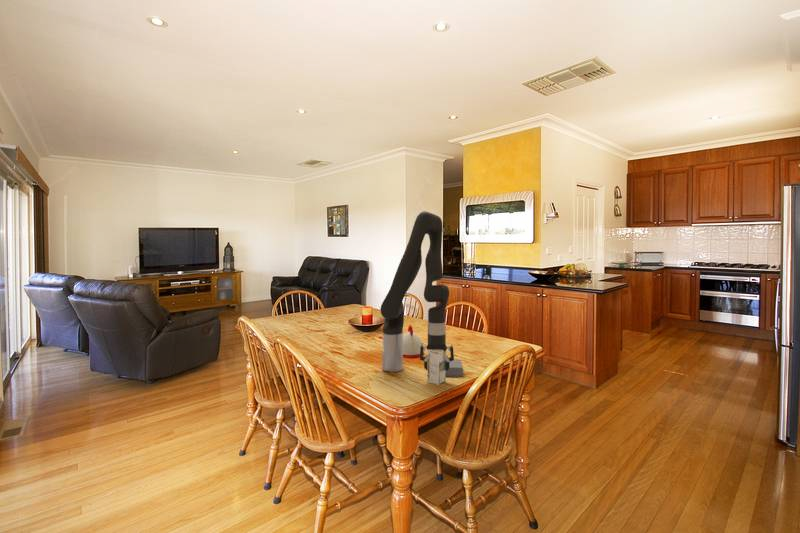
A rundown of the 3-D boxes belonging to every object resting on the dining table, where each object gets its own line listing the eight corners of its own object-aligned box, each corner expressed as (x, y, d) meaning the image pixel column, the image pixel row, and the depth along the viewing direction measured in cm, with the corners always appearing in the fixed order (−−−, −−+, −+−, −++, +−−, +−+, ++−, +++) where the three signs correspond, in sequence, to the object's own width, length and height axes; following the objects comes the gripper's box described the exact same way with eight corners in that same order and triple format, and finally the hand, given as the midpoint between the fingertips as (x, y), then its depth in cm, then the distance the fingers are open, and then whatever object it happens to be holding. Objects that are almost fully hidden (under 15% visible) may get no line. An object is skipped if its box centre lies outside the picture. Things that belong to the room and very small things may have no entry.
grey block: (437, 376, 172) (437, 367, 172) (437, 367, 183) (437, 359, 183) (462, 376, 171) (462, 367, 171) (460, 367, 182) (460, 359, 182)
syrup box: (434, 378, 170) (434, 345, 168) (446, 381, 166) (446, 347, 165) (427, 382, 165) (427, 348, 164) (439, 385, 162) (439, 351, 160)
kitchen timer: (400, 359, 196) (400, 329, 195) (395, 351, 210) (394, 323, 208) (426, 357, 199) (426, 328, 198) (420, 349, 213) (419, 322, 211)
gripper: (419, 334, 161) (419, 372, 162) (454, 334, 160) (454, 373, 161) (419, 330, 168) (420, 366, 170) (453, 330, 167) (453, 367, 168)
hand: (436, 369), depth 165 cm, fingers open, 8 cm apart
